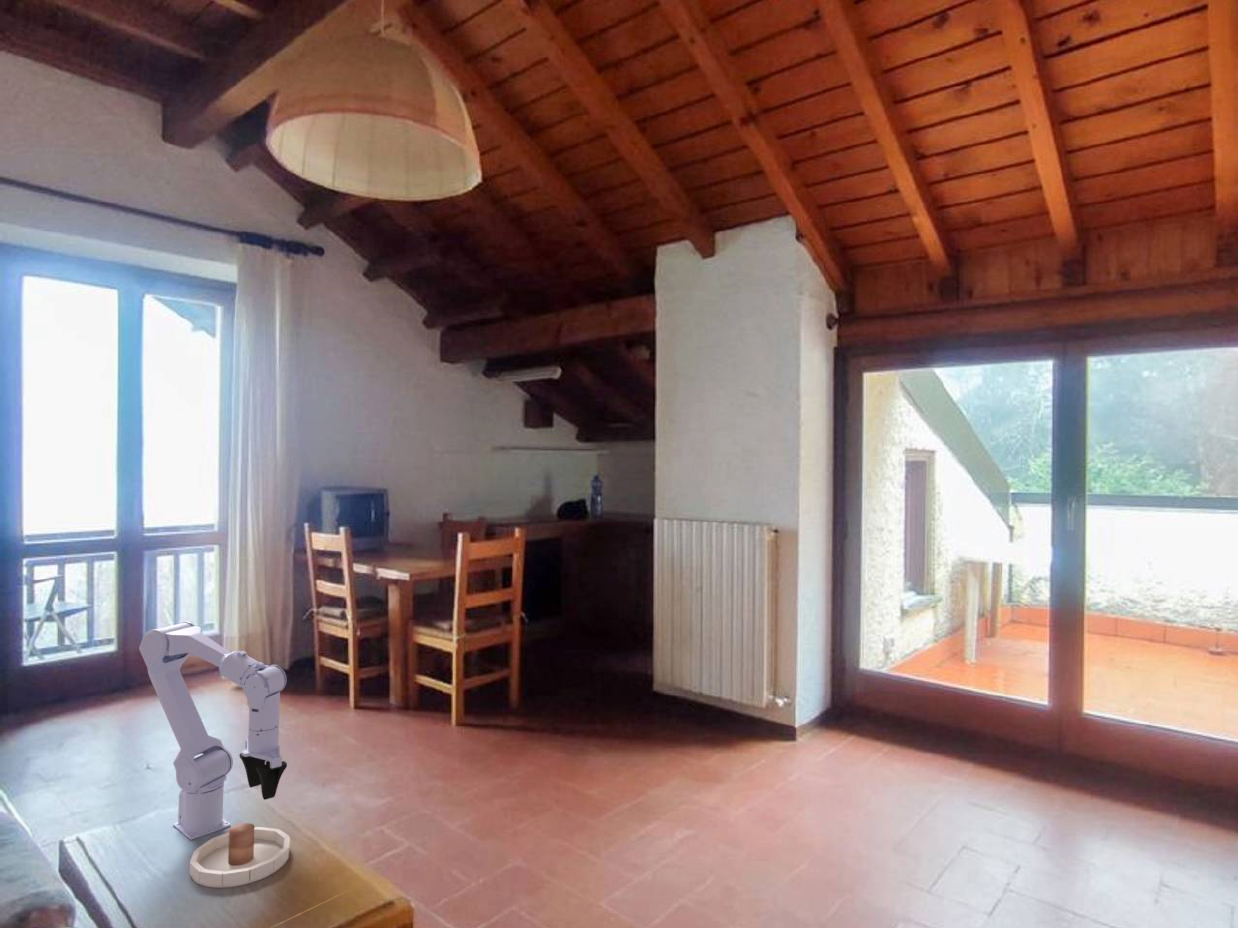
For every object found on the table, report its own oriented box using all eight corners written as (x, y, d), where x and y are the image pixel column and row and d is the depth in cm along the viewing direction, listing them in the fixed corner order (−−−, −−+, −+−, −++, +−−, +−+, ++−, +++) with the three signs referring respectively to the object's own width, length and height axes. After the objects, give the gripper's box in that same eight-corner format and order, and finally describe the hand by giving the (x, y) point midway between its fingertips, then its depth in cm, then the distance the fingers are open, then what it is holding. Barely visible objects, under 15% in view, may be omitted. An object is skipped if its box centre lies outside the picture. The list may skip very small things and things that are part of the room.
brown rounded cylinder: (223, 860, 141) (224, 829, 141) (246, 850, 145) (247, 820, 145) (235, 868, 138) (236, 836, 138) (258, 858, 142) (258, 827, 142)
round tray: (175, 864, 140) (176, 850, 140) (264, 831, 153) (264, 819, 153) (214, 899, 130) (214, 884, 130) (305, 860, 143) (305, 847, 143)
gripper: (231, 721, 154) (229, 785, 153) (256, 741, 143) (254, 809, 143) (265, 714, 159) (263, 776, 159) (292, 732, 149) (290, 798, 149)
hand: (261, 791), depth 151 cm, fingers open, 7 cm apart
